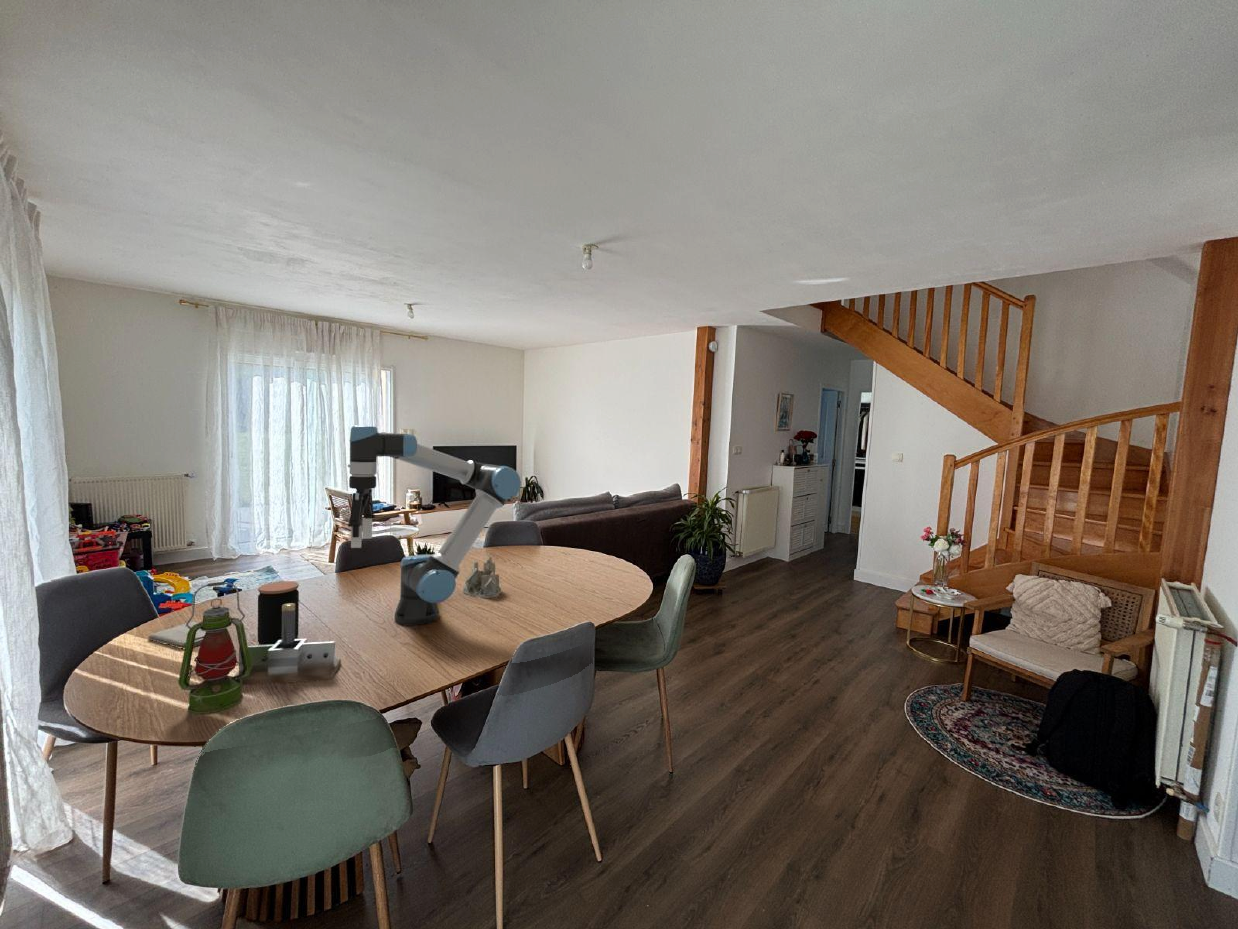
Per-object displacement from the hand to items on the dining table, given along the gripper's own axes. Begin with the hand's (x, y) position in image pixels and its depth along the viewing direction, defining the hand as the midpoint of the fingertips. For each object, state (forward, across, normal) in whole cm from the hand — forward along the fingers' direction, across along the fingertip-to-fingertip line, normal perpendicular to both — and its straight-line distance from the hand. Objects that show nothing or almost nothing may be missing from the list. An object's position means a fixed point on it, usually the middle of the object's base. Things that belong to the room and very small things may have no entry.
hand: (361, 542), depth 157 cm
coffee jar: (+33, -6, -25) cm, 42 cm away
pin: (+31, +18, -14) cm, 39 cm away
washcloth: (+34, -13, -53) cm, 64 cm away
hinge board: (+33, +18, -14) cm, 40 cm away
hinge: (+31, +18, -14) cm, 39 cm away
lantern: (+33, +31, -25) cm, 52 cm away
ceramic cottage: (+33, -50, +36) cm, 70 cm away
